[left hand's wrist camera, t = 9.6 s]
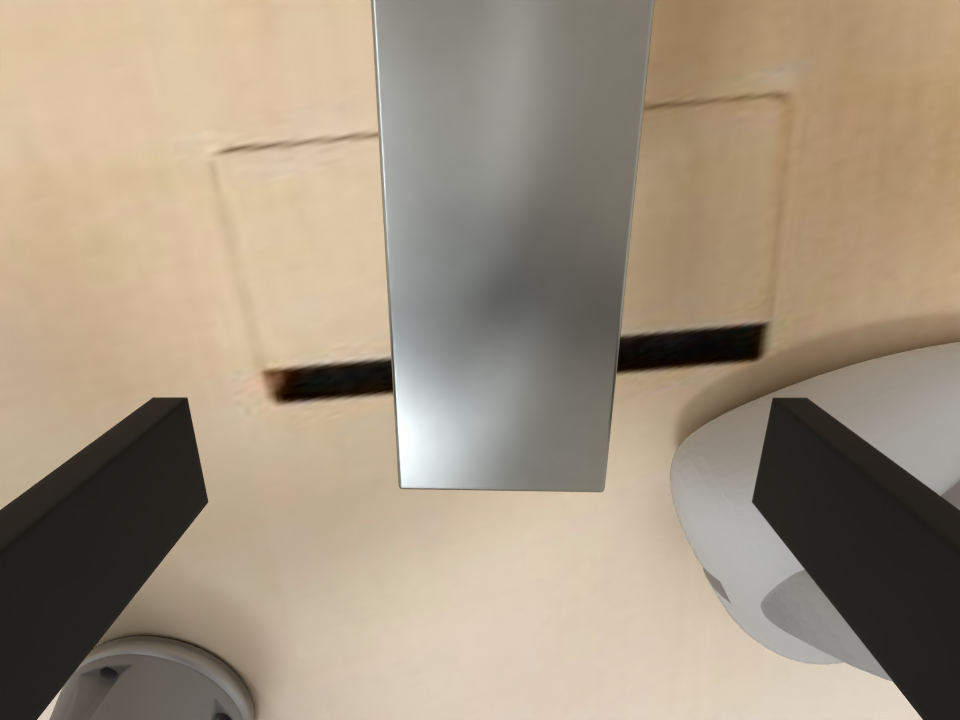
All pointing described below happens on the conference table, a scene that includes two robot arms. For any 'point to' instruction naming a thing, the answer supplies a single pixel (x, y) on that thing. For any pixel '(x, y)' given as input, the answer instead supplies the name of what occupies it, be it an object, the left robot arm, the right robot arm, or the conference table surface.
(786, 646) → the projector
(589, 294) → the bar
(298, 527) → the conference table surface
